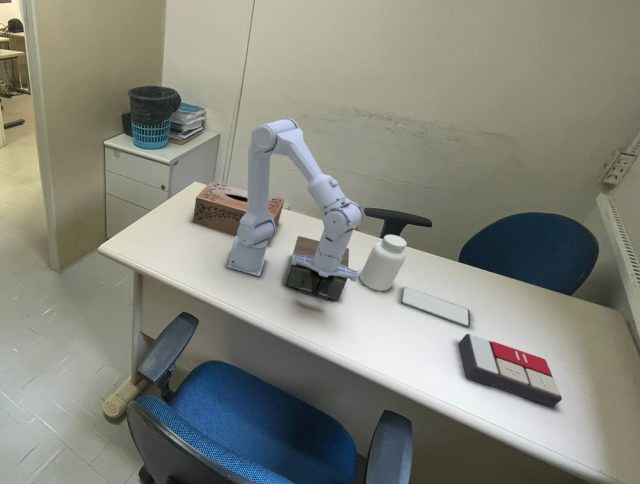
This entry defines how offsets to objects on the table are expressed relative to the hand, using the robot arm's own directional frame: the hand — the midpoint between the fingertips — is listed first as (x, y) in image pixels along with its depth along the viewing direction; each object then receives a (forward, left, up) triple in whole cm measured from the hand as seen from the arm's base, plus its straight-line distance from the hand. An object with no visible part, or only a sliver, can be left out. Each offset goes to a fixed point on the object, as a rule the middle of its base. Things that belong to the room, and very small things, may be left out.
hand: (314, 292), depth 101 cm
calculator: (+41, -1, -6) cm, 42 cm away
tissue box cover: (-27, +32, -6) cm, 42 cm away
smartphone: (+30, +16, -6) cm, 35 cm away
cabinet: (0, +14, -6) cm, 15 cm away
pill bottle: (+16, +20, -6) cm, 26 cm away
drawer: (0, +10, -5) cm, 11 cm away
